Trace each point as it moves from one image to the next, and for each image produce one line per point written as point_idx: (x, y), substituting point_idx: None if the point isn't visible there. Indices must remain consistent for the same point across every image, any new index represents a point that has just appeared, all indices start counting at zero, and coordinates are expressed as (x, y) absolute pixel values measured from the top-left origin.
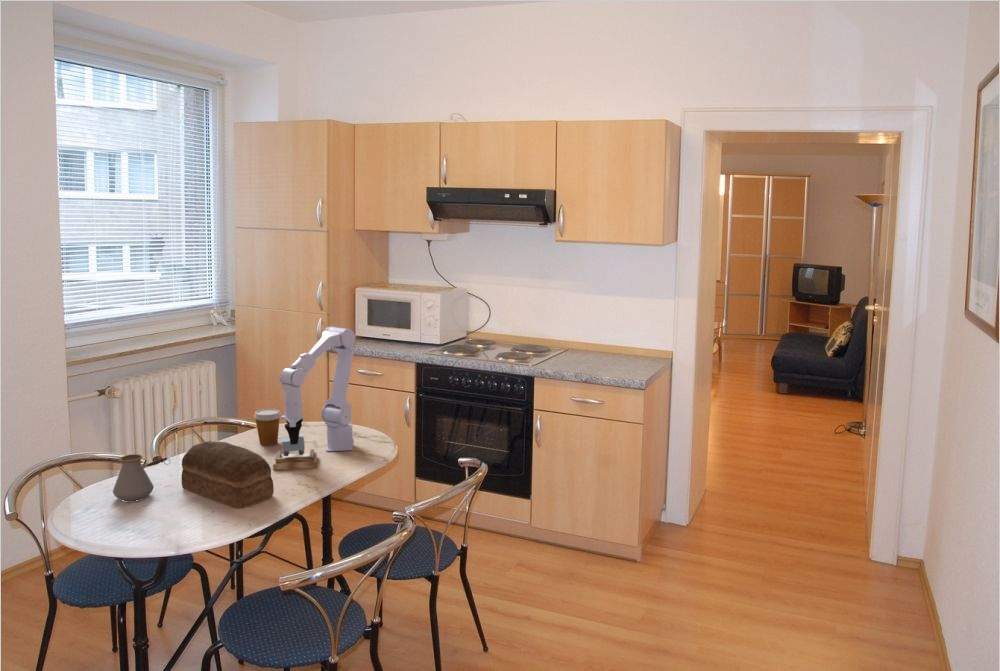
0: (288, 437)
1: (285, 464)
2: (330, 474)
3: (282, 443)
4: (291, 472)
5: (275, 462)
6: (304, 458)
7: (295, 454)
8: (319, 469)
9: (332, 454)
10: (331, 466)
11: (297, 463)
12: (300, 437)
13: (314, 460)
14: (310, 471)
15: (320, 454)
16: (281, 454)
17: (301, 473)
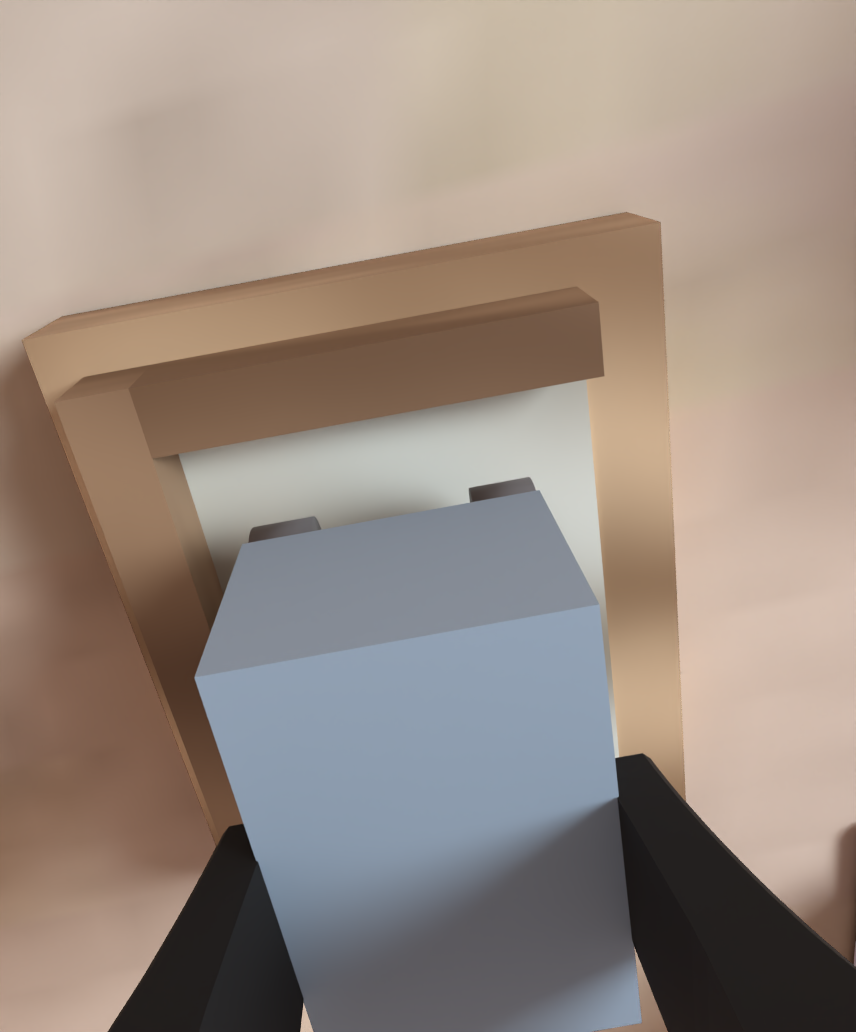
0: (607, 739)
1: (104, 541)
2: (43, 1005)
3: (204, 659)
4: (15, 612)
5: (141, 356)
6: (221, 827)
7: None
8: (195, 883)
9: None
10: None
11: (166, 705)
12: (545, 988)
13: None
14: (104, 815)
15: (779, 778)
16: (621, 348)
17: (4, 739)
